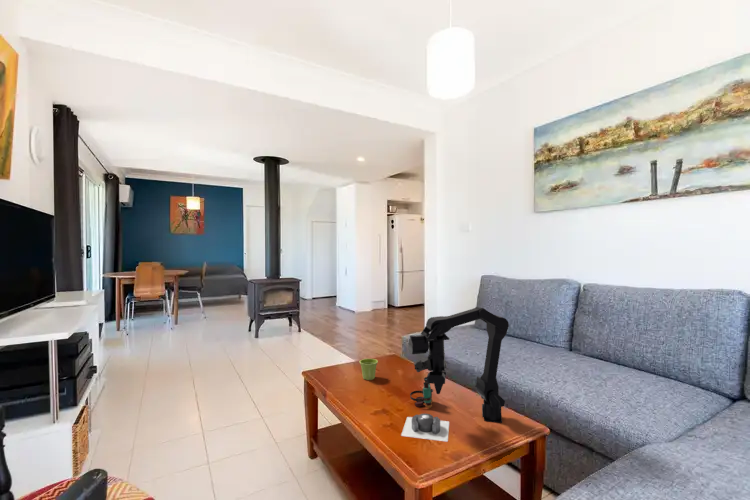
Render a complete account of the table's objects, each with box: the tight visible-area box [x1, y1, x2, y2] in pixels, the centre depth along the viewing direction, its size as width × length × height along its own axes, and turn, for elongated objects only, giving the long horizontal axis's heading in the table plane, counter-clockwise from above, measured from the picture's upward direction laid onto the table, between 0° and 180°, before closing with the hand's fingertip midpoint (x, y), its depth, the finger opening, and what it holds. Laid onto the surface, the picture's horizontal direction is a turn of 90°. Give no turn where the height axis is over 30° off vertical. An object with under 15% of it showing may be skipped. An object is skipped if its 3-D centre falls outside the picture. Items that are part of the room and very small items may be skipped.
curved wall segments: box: [411, 414, 441, 435], centre depth 123 cm, size 10×7×3 cm
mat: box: [400, 416, 450, 443], centre depth 123 cm, size 16×14×1 cm
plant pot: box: [359, 358, 379, 381], centre depth 174 cm, size 9×9×9 cm
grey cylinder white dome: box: [417, 413, 434, 432], centre depth 123 cm, size 6×6×4 cm
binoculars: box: [409, 376, 434, 409], centre depth 143 cm, size 9×11×10 cm
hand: (438, 393), depth 127 cm, fingers closed
